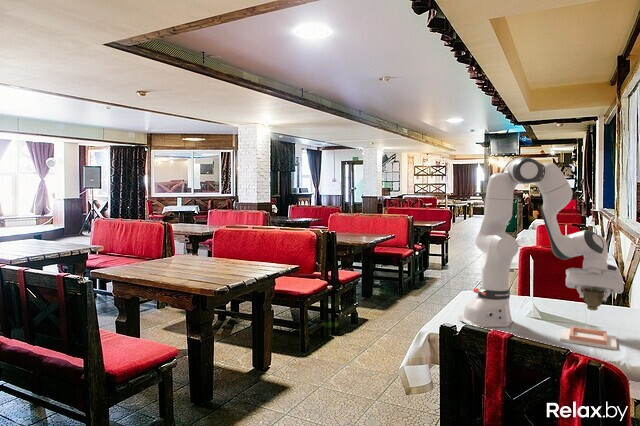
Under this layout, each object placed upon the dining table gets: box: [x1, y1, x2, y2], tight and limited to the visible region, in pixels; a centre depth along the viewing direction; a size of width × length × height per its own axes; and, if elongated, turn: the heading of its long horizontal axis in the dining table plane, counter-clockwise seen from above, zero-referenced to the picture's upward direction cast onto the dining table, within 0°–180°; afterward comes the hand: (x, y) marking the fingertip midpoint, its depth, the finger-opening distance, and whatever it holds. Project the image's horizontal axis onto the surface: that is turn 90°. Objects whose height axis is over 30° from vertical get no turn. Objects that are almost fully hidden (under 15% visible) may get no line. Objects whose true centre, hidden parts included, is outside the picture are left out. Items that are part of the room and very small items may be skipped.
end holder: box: [559, 325, 618, 351], centre depth 174 cm, size 13×18×2 cm
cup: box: [582, 288, 606, 311], centre depth 183 cm, size 8×7×8 cm
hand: (593, 298), depth 182 cm, fingers closed on cup, 6 cm apart
